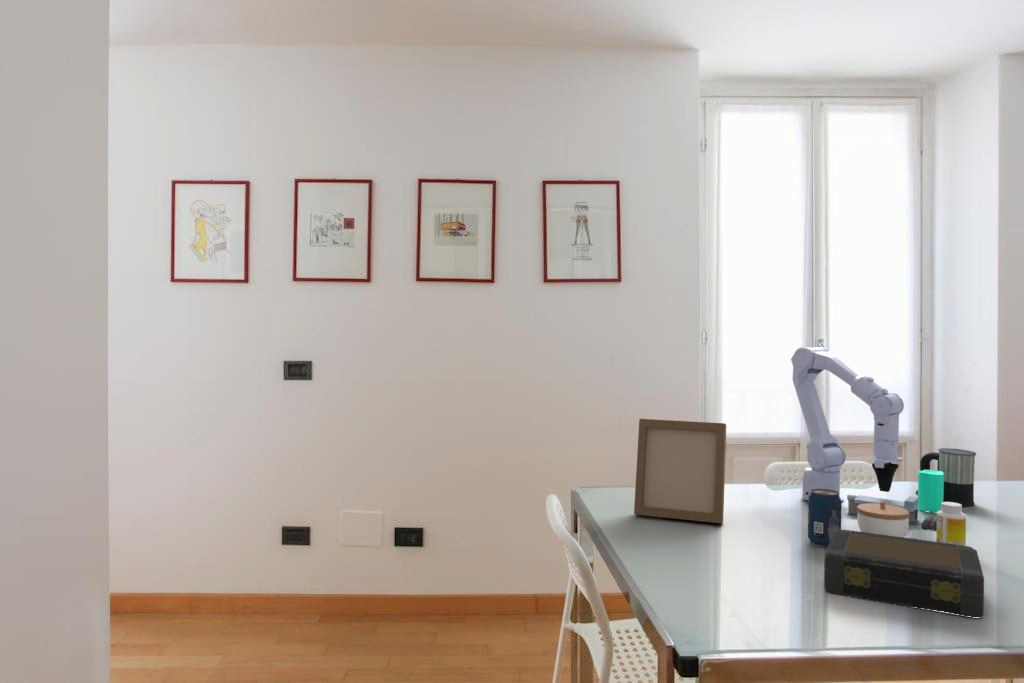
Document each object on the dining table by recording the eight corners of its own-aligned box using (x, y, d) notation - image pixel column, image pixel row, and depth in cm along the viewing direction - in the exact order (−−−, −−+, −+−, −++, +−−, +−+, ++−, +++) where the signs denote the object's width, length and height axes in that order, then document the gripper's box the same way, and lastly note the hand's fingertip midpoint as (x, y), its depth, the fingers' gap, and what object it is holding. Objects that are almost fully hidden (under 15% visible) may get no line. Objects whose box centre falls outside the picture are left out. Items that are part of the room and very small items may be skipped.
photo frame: (721, 527, 175) (722, 426, 174) (633, 517, 183) (634, 421, 182) (727, 512, 188) (728, 419, 188) (645, 504, 196) (646, 414, 196)
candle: (936, 507, 195) (936, 464, 195) (947, 513, 189) (948, 468, 189) (913, 507, 195) (914, 463, 195) (924, 512, 189) (924, 468, 189)
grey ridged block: (943, 525, 172) (942, 532, 172) (948, 518, 179) (948, 524, 179) (920, 522, 175) (920, 528, 175) (926, 514, 182) (926, 521, 182)
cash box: (975, 584, 137) (976, 545, 137) (984, 622, 119) (985, 577, 119) (834, 562, 149) (834, 526, 149) (823, 594, 132) (823, 552, 132)
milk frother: (975, 501, 202) (976, 450, 202) (975, 513, 189) (976, 458, 189) (918, 495, 210) (919, 445, 210) (914, 506, 197) (915, 453, 196)
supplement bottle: (971, 551, 157) (972, 505, 157) (955, 554, 154) (956, 508, 154) (946, 544, 162) (947, 499, 162) (930, 547, 159) (931, 502, 159)
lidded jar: (906, 539, 166) (907, 499, 165) (910, 552, 156) (911, 509, 156) (856, 533, 170) (856, 494, 170) (856, 545, 160) (857, 504, 160)
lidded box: (844, 501, 188) (844, 492, 188) (850, 497, 192) (850, 488, 192) (913, 512, 177) (913, 502, 177) (918, 507, 182) (918, 497, 182)
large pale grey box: (845, 514, 188) (845, 502, 187) (851, 509, 192) (851, 498, 192) (913, 524, 178) (913, 513, 178) (917, 519, 182) (918, 508, 182)
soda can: (815, 537, 166) (816, 486, 166) (845, 544, 161) (846, 491, 161) (802, 543, 162) (803, 491, 161) (833, 550, 157) (834, 496, 156)
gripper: (897, 445, 179) (895, 498, 179) (908, 438, 190) (907, 488, 190) (866, 441, 183) (865, 494, 184) (879, 435, 194) (878, 484, 195)
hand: (884, 491), depth 187 cm, fingers closed
